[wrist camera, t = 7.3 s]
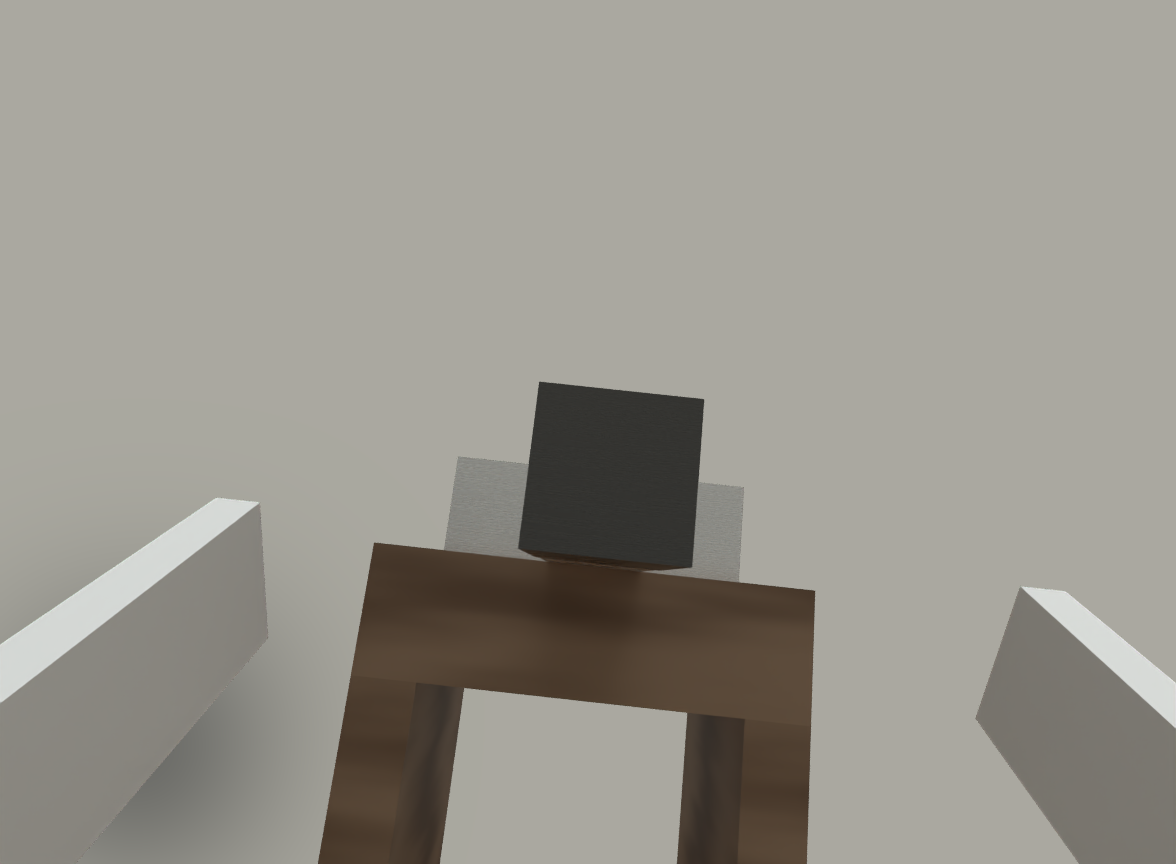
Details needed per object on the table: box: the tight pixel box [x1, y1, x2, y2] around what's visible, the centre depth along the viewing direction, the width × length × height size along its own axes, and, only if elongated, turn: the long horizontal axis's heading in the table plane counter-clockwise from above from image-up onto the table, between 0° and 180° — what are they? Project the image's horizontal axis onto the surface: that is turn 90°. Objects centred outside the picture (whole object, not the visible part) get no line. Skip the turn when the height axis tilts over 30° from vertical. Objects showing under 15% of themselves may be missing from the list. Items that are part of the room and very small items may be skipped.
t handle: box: [444, 382, 744, 582], centre depth 22 cm, size 19×12×4 cm, turn 1°
